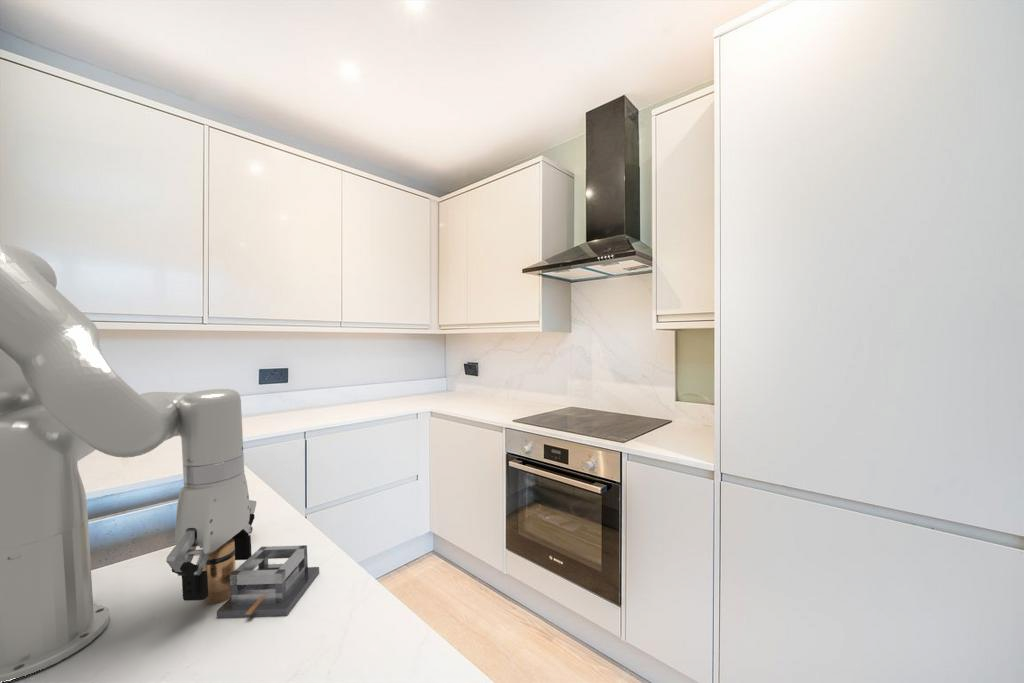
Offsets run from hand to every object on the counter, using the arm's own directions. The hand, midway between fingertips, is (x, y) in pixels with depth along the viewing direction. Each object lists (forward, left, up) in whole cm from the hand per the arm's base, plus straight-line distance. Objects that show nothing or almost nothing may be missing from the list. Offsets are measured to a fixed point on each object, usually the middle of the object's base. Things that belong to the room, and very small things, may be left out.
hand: (220, 577), depth 61 cm
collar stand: (+8, 0, -3) cm, 9 cm away
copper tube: (0, 0, -3) cm, 3 cm away
